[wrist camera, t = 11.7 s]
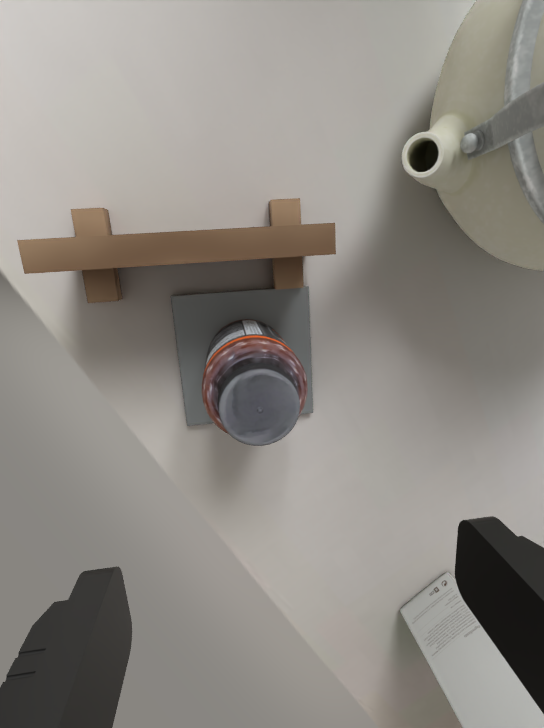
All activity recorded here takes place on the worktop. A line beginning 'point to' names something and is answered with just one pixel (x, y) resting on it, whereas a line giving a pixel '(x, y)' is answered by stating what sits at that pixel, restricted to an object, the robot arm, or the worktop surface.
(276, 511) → the worktop surface
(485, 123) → the kettle
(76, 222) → the wooden panel
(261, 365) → the supplement bottle
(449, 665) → the skincare box
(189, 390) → the mat
